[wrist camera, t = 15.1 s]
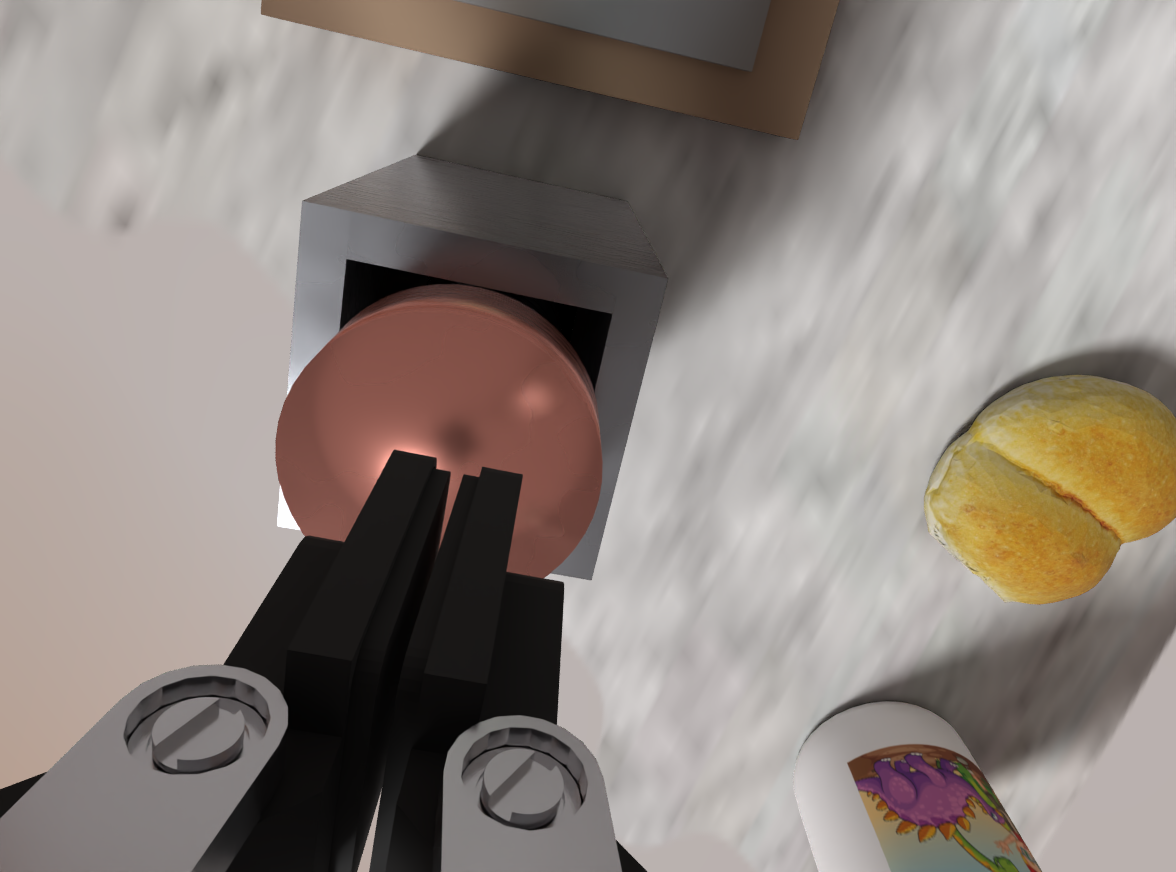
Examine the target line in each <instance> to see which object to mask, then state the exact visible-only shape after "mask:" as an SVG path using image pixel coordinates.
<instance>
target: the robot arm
mask: <svg viewBox="0 0 1176 872" xmlns="http://www.w3.org/2000/svg"><path fill="white" fill-rule="evenodd" d="M436 468H437V458H436V457H431V456H425V455H420V454H415V453H410V452H405V451H400V450H393V452H392V453H391V455H390V457H389V459H388V461H387V463H386V465H385V467H384V468H383V470H382V472H381V474H380V476H379V478H378V480H377V482H376V484H375V485H374V487H373V489H372V491H371V493H370V495H369V497H368V499H367V500H366V502H365V504H364V506H363V508H362V510H361V512H360V514H359V515H358V517H357V519H356V521H355V523H354V525H353V527H352V529H351V531H350V532H349V534H348V536H347V538H346V540H345V542H342V541H337V540H332V539H326V538H321V537H315V536H310V535H309V536H305V537H304V538H303V540H302V541H301V542H300V543H299V545H298V546H297V548H296V550H295V551H294V553H293V554H292V556H291V558H290V559H289V561H288V563H287V564H286V566H285V567H284V569H283V571H282V572H281V574H280V575H279V577H278V579H277V580H276V582H275V583H274V585H273V586H272V588H271V590H270V591H269V593H268V594H267V596H266V598H265V599H264V601H263V603H262V604H261V606H260V607H259V609H258V610H257V612H256V614H255V615H254V617H253V618H252V620H251V622H250V623H249V625H248V626H247V628H246V629H245V631H244V633H243V634H242V636H241V637H240V639H239V641H238V643H237V644H236V645H235V647H234V649H233V650H232V652H231V653H230V655H229V657H228V658H227V660H226V661H225V663H224V665H199V666H190V667H186V668H182V669H178V670H174V671H169V672H166V673H164V674H161V675H159V676H157V677H155V678H153V679H150V680H148V681H146V682H144V683H142V684H140V685H139V686H138V687H136V688H135V689H134V690H132V691H131V692H130V693H128V694H127V695H126V696H125V697H123V698H122V699H121V700H120V701H119V702H118V703H117V704H116V705H115V706H114V707H113V708H112V709H111V710H110V711H108V712H107V713H106V714H105V715H104V716H103V718H101V719H100V720H99V722H97V723H96V725H94V726H93V727H92V728H91V729H90V730H89V731H88V732H87V733H86V734H85V735H84V736H83V737H82V738H81V739H80V740H79V741H78V742H77V743H76V744H75V745H74V746H73V747H72V748H71V749H70V750H69V751H68V752H67V753H66V754H65V755H64V756H63V757H62V758H61V759H60V760H59V761H58V762H57V763H56V764H55V765H54V766H53V767H52V768H51V769H50V770H49V771H48V772H45V773H43V774H40V775H37V776H35V777H32V778H29V779H27V780H24V781H21V782H19V783H16V784H13V785H11V786H8V787H5V788H3V789H0V872H357V870H358V867H359V863H360V860H361V856H362V853H363V850H364V847H365V843H366V840H367V836H368V833H369V830H370V826H371V823H372V819H373V816H374V812H375V809H376V806H377V802H378V799H379V796H380V792H381V789H382V792H381V798H380V805H379V812H378V818H377V825H376V831H375V838H374V845H373V851H372V857H371V864H370V871H369V872H647V871H646V870H645V869H644V868H643V867H642V866H641V865H640V864H639V863H638V862H637V861H636V860H635V859H634V858H633V857H632V856H631V855H630V854H629V853H628V852H627V851H626V850H625V849H624V848H623V847H622V846H621V845H620V844H619V842H618V841H617V840H616V839H615V833H614V828H613V823H612V818H611V813H610V808H609V803H608V798H607V793H606V788H605V782H604V778H603V775H602V773H601V770H600V767H599V765H598V762H597V760H596V758H595V757H594V756H593V754H592V753H591V752H590V751H589V749H588V748H587V747H586V745H584V743H583V742H582V741H581V740H579V739H578V738H577V737H575V736H574V735H573V734H571V733H570V732H569V731H567V730H566V729H564V728H562V727H560V726H558V725H557V711H558V694H559V674H560V657H561V639H562V621H563V602H564V583H563V582H560V581H555V580H549V579H544V578H538V577H533V576H527V575H522V574H517V573H511V572H506V571H507V565H508V559H509V554H510V548H511V542H512V536H513V531H514V525H515V519H516V513H517V507H518V502H519V496H520V490H521V484H522V479H523V474H518V473H513V472H508V471H503V470H498V469H492V468H487V467H482V469H481V472H480V476H479V477H476V476H471V475H466V474H464V475H463V477H462V480H461V484H460V487H459V490H458V493H457V496H456V499H455V502H454V505H453V508H452V511H451V514H450V518H449V521H448V524H447V527H446V530H445V533H444V536H443V539H442V542H441V545H440V539H441V533H442V527H443V521H444V515H445V509H446V503H447V497H448V490H449V484H450V477H451V472H450V471H445V470H440V469H436ZM439 545H440V549H439ZM438 551H439V552H438Z"/></svg>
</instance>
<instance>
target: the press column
mask: <svg viewBox="0 0 1176 872" xmlns="http://www.w3.org/2000/svg"><path fill="white" fill-rule="evenodd" d="M427 276H432V277H437V278H441V279H446V280H451V281H456V282H461V283H466V284H471V285H475V286H480V287H485V288H490V289H495V290H500V291H504V292H509V293H514V294H519V295H524V296H529V297H533V298H538V299H543V300H548V301H553V302H558V303H562V304H567V305H572V306H577V310H576V315H575V320H574V324H573V329H572V334H571V338H570V345H571V346H572V347H573V348H574V350H575V351H576V353H577V354H578V356H579V358H580V359H581V361H582V363H583V365H584V366H585V368H586V371H587V373H588V375H589V378H590V380H591V383H592V385H593V389H594V393H595V397H596V401H597V408H598V417H599V427H600V438H601V450H602V461H603V465H602V485H601V490H600V496H599V501H598V504H597V507H596V510H595V513H594V516H593V519H592V521H591V523H590V525H589V527H588V529H587V531H586V533H585V535H584V536H583V538H582V539H581V540H580V542H579V543H578V545H577V546H576V548H575V549H574V550H573V552H572V553H571V554H570V555H569V556H568V557H567V558H566V559H565V560H564V562H563V563H562V564H560V565H559V566H558V567H557V568H556V569H555V570H553V571H552V572H551V573H552V574H558V575H563V576H569V577H575V578H581V579H587V580H592V576H593V572H594V568H595V564H596V561H597V557H598V553H599V549H600V545H601V541H602V537H603V533H604V529H605V525H606V521H607V517H608V513H609V509H610V506H611V502H612V498H613V494H614V490H615V486H616V482H617V478H618V474H619V470H620V466H621V462H622V458H623V454H624V451H625V447H626V443H627V439H628V435H629V431H630V427H631V423H632V419H633V415H634V411H635V407H636V403H637V399H638V395H639V392H640V388H641V384H642V380H643V376H644V372H645V368H646V364H647V360H648V356H649V352H650V348H651V344H652V340H653V337H654V333H655V329H656V325H657V321H658V317H659V313H660V309H661V305H662V301H663V297H664V293H665V289H666V285H667V282H668V277H667V275H666V274H665V272H664V270H663V268H662V266H661V264H660V262H659V260H658V258H657V256H656V255H655V253H654V251H653V249H652V247H651V245H650V243H649V241H648V239H647V237H646V236H645V234H644V232H643V230H642V228H641V226H640V224H639V222H638V220H637V218H636V217H635V215H634V213H633V211H632V209H631V207H630V205H629V203H628V202H627V201H623V200H618V199H614V198H609V197H605V196H600V195H596V194H591V193H587V192H582V191H578V190H573V189H569V188H564V187H560V186H555V185H551V184H546V183H541V182H537V181H532V180H528V179H523V178H519V177H514V176H510V175H505V174H501V173H496V172H492V171H487V170H483V169H478V168H474V167H469V166H465V165H460V164H456V163H451V162H447V161H442V160H438V159H433V158H429V157H424V156H420V155H413V156H411V157H409V158H406V159H404V160H401V161H399V162H396V163H394V164H391V165H389V166H386V167H384V168H382V169H379V170H377V171H374V172H372V173H369V174H367V175H364V176H362V177H359V178H357V179H355V180H352V181H350V182H347V183H345V184H342V185H340V186H337V187H335V188H332V189H330V190H328V191H325V192H323V193H320V194H318V195H315V196H313V197H310V198H308V199H305V200H303V201H302V210H301V223H300V236H299V249H298V262H297V275H296V288H295V301H294V315H293V327H292V340H291V353H290V366H289V379H288V392H287V396H288V394H289V392H290V389H291V387H292V385H293V384H294V382H295V381H296V379H297V378H298V376H299V375H300V373H301V372H302V371H303V369H304V368H305V367H306V365H307V364H308V363H309V362H310V361H311V360H312V359H313V358H314V357H315V356H316V355H317V354H318V353H319V352H320V351H321V350H322V349H323V347H324V346H325V345H326V344H327V343H328V342H329V341H330V340H331V339H332V338H333V337H334V336H335V335H336V334H337V333H338V332H339V331H340V330H341V329H342V328H343V327H344V326H345V325H346V324H347V323H348V322H349V321H350V320H351V319H352V318H353V317H354V316H356V315H357V314H358V313H360V312H361V311H362V310H363V309H365V308H366V307H368V306H370V305H372V304H373V303H375V302H377V301H378V300H380V299H382V298H385V297H387V296H389V295H392V294H394V293H397V292H399V291H403V290H407V289H411V288H415V287H419V286H426V283H427ZM277 526H279V527H285V528H291V529H297V530H300V528H299V527H298V525H297V523H296V522H295V520H294V518H293V517H292V515H291V513H290V510H289V508H288V506H287V504H286V501H285V499H284V496H283V493H282V490H281V486H280V496H279V509H278V521H277Z"/></svg>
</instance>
